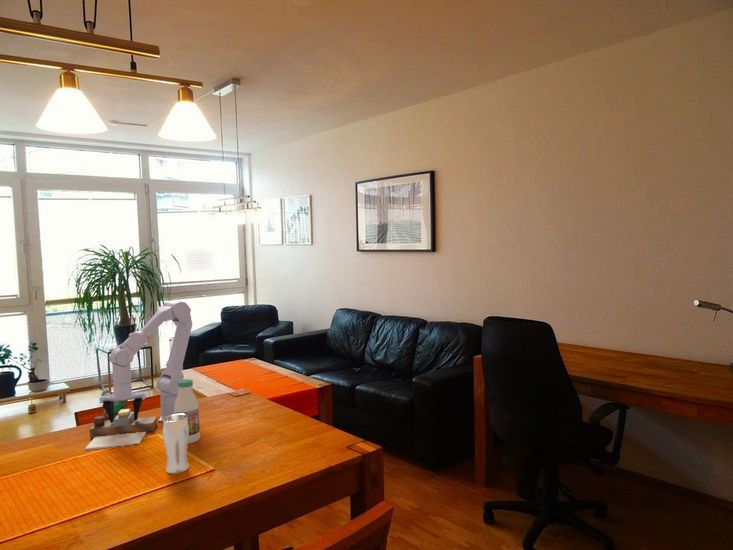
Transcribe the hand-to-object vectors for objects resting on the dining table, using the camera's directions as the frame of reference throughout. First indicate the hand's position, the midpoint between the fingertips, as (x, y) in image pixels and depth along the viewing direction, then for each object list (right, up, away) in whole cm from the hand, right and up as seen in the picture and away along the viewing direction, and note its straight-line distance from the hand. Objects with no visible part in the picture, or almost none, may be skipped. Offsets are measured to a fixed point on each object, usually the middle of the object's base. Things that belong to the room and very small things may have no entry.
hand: (124, 420), depth 170 cm
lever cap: (0, -1, 0) cm, 1 cm away
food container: (-11, -4, +13) cm, 17 cm away
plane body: (0, -4, 0) cm, 4 cm away
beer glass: (+31, -5, -32) cm, 45 cm away
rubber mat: (+2, -4, -10) cm, 11 cm away
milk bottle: (+26, -4, -10) cm, 28 cm away
